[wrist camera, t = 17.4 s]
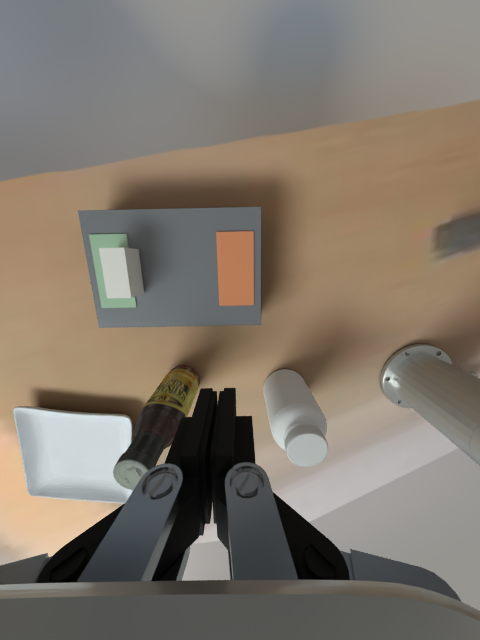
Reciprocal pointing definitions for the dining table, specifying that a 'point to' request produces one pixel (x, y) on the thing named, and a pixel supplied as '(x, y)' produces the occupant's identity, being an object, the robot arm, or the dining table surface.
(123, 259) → the switch knob
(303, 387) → the pill bottle
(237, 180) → the dining table surface
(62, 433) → the salad plate
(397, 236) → the dining table surface
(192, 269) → the switch box
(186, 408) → the sauce bottle
